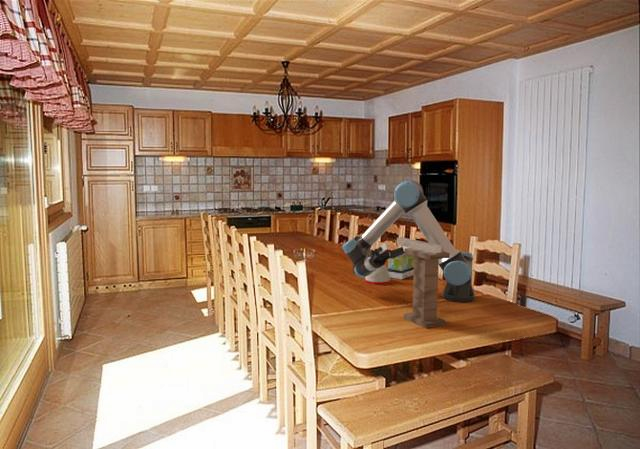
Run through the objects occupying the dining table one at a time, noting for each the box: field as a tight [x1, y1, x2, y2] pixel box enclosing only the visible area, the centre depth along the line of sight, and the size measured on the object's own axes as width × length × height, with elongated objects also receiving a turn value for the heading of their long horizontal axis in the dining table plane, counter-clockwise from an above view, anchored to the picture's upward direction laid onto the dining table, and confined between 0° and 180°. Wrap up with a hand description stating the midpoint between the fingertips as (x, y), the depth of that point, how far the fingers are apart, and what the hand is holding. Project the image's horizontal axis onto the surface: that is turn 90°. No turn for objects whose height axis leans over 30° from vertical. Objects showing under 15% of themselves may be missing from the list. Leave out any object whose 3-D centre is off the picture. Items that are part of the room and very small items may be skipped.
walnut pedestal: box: [403, 248, 450, 329], centre depth 200 cm, size 16×10×30 cm, turn 28°
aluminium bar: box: [396, 236, 441, 254], centre depth 203 cm, size 25×3×3 cm, turn 28°
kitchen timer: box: [364, 264, 391, 286], centre depth 269 cm, size 14×14×15 cm
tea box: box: [387, 252, 414, 280], centre depth 283 cm, size 15×10×15 cm
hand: (399, 244), depth 213 cm, fingers open, 13 cm apart
